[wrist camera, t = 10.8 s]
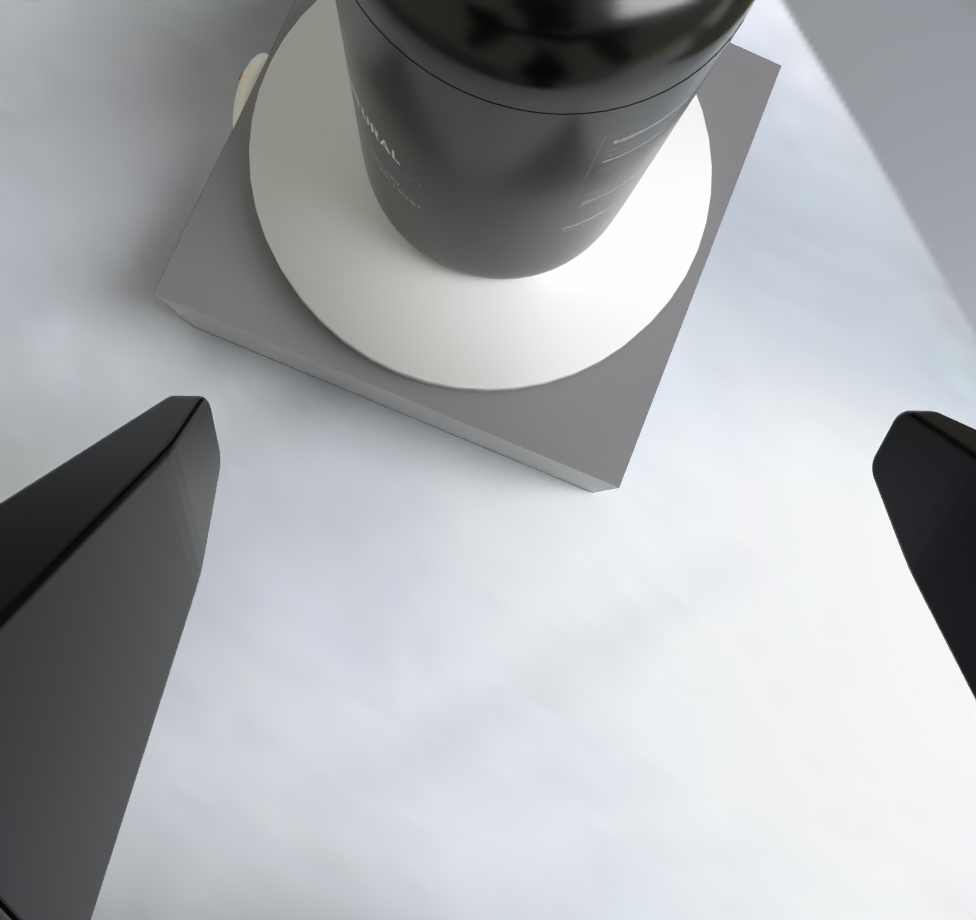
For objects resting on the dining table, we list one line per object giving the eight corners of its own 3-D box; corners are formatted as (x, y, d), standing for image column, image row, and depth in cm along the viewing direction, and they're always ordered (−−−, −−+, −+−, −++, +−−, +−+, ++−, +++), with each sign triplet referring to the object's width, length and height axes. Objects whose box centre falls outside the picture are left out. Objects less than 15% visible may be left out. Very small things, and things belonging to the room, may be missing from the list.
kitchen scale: (592, 492, 21) (627, 486, 18) (173, 317, 21) (116, 272, 17) (735, 125, 23) (795, 46, 19) (347, -47, 22) (330, -164, 18)
